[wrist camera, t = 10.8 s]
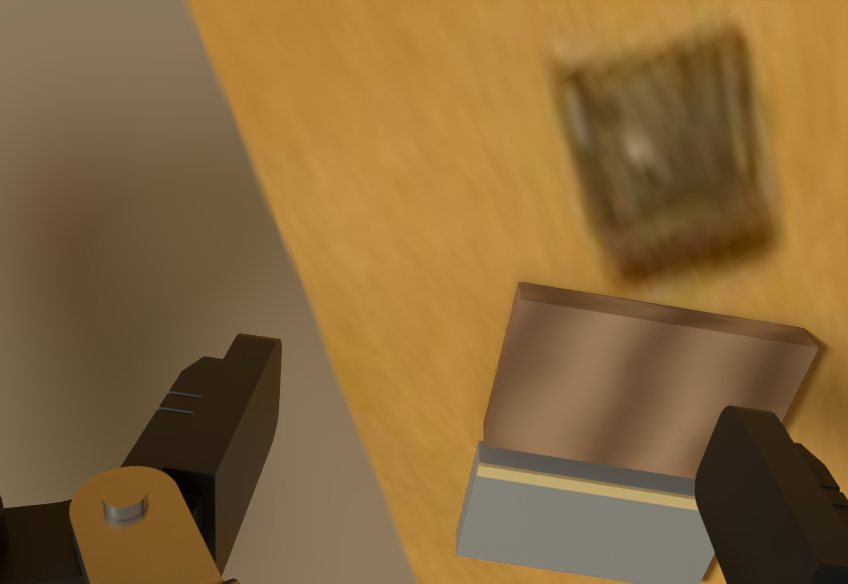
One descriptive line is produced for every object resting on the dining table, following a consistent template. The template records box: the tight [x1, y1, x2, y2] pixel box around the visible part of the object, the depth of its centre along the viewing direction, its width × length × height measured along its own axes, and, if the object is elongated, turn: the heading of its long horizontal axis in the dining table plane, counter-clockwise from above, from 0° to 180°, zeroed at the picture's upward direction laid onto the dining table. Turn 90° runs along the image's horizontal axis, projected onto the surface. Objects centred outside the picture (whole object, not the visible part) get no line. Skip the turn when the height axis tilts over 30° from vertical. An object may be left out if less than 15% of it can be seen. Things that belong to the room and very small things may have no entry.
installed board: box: [456, 441, 715, 584], centre depth 46 cm, size 16×8×2 cm, turn 81°
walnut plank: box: [483, 282, 819, 479], centre depth 41 cm, size 16×10×2 cm, turn 81°
